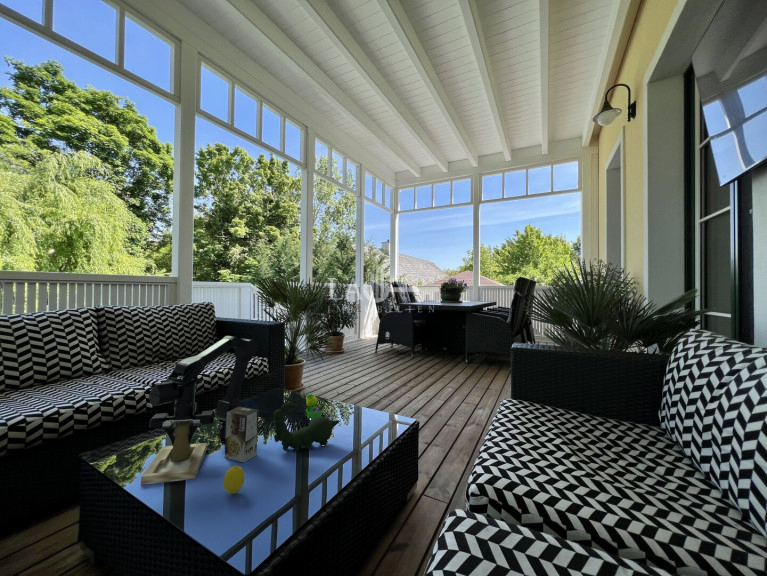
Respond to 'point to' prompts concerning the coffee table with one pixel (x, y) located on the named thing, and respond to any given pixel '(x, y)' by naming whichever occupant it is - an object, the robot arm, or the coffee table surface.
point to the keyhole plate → (174, 465)
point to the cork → (181, 442)
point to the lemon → (234, 479)
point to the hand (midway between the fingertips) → (181, 444)
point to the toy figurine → (302, 430)
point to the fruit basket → (314, 407)
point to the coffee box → (241, 434)
